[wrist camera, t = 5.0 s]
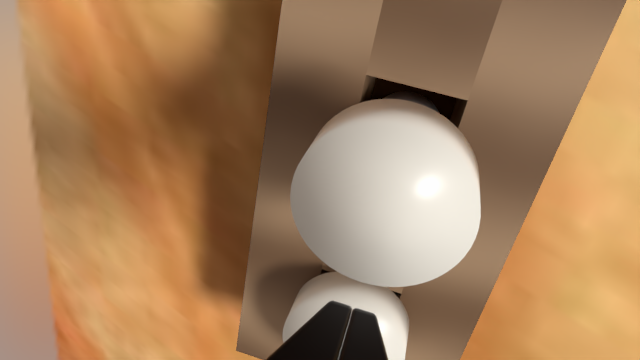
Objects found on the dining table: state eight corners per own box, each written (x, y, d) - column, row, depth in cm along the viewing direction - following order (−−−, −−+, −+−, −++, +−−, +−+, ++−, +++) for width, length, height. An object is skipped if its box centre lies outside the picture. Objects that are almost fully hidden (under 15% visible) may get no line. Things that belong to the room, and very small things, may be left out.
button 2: (452, 201, 18) (446, 308, 13) (327, 166, 19) (278, 256, 14) (497, 77, 16) (510, 153, 11) (353, 42, 16) (305, 99, 11)
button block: (437, 349, 26) (432, 416, 22) (265, 293, 27) (236, 350, 23) (720, -316, 13) (810, -395, 10) (371, -364, 14) (341, -449, 11)
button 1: (403, 309, 24) (387, 407, 20) (311, 281, 25) (275, 369, 20) (430, 233, 22) (419, 323, 17) (328, 204, 23) (291, 283, 18)
